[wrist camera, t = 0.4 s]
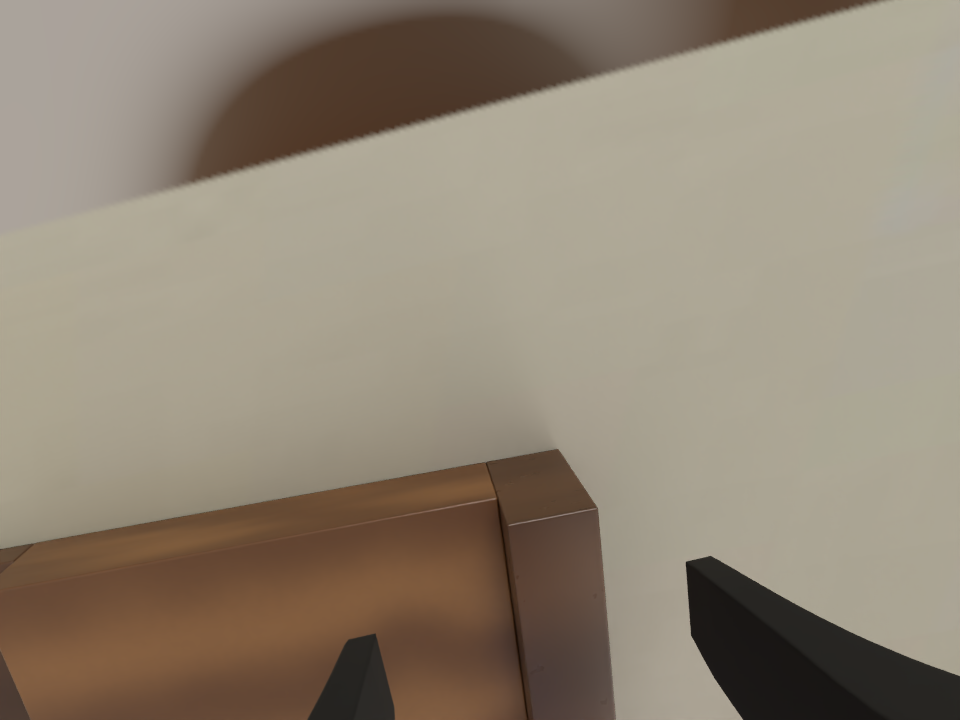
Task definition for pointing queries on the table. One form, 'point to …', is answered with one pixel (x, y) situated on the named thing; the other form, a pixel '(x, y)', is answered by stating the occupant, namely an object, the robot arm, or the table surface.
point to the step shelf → (323, 604)
